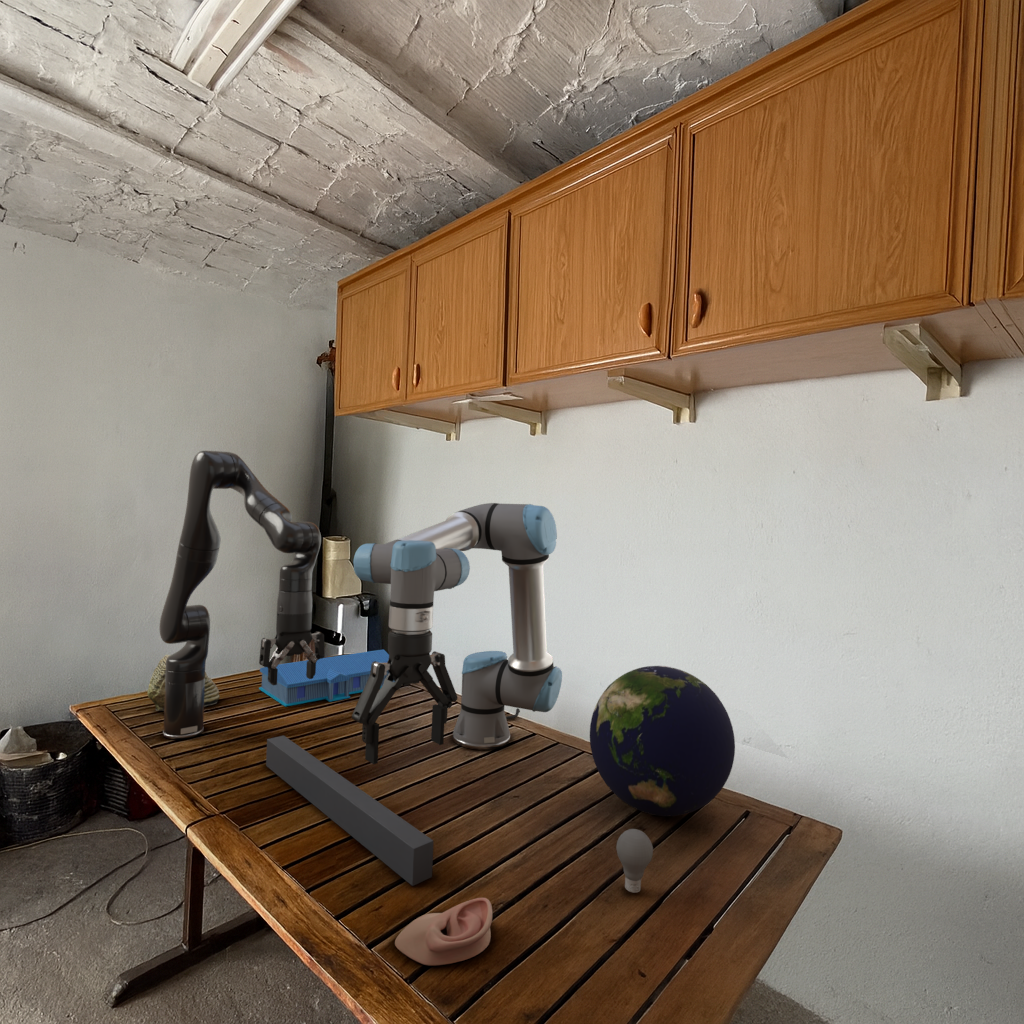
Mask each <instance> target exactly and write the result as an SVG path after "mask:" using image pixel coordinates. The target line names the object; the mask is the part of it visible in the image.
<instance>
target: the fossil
mask: <svg viewBox="0 0 1024 1024" xmlns="http://www.w3.org/2000/svg"><path fill="white" fill-rule="evenodd" d="M170 655H171V654H165V655H164V656H163V657H162V658H161V659H160V660H159V662H158V663H157V666H156V667H155V669H154V670H153V672H152V675H151V677H150V680H149V684H148V688H147V697H148V699H149V700H150V701H152V703H153V704H154V706H155V711H158V712H159V711H162V712H163V708H164V705H165V674H166V660H167V658H168V657H169V656H170ZM220 698H221V696H220V690H219V688H218V686H217V685H216V683H215V682H214V681H213V679H212V678H211V677H209V675H208V674H207V672H206V671H205V693H204V707H207V706H213V705H215V704H217V703H218V701H219V699H220Z"/></svg>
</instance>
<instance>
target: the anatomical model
mask: <svg viewBox="0 0 1024 1024" xmlns="http://www.w3.org/2000/svg"><path fill="white" fill-rule="evenodd" d="M492 922H493V907H492V903H491V900H489V898H486V897H477V898H473V899H470V900H466V901H464V902H461V903H459V904H457V905H454V906H452V907H450V908H449V909H447V910H444V911H443V912H433V913H432V912H431V913H426V914H423V915H421V916H418V917H416V919H414V920H412V921H411V922H410V923H409V924H407V925H406V926H405V927H404V928H403V929H402V930H401V932H400V933H399V934H398V935H397V936H396V938H395V940H394V946H395V947H396V948H397V950H399V952H401V953H402V954H403V955H405V957H408V958H409V959H411V960H413V961H414V962H416V963H419V964H421V965H424V966H431V967H432V966H443V965H450V964H454V963H459V962H462V961H465V960H468V959H471V958H473V957H476V956H477V955H479V954H481V953H482V952H484V951H485V950H486V949H487V947H488V946H489V945H490V943H491V937H492V936H491V935H492V934H491V926H492Z"/></svg>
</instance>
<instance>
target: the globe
mask: <svg viewBox="0 0 1024 1024" xmlns="http://www.w3.org/2000/svg"><path fill="white" fill-rule="evenodd" d="M735 739H736V738H735V732H734V728H733V724H732V721H731V718H730V716H729V713H728V711H727V709H726V707H725V705H724V703H722V701H721V699H720V698H719V696H718V695H717V694H716V692H715V691H713V689H712V688H711V687H709V685H707V684H706V683H705V682H704V681H702V680H701V679H700V678H698V677H696V676H695V675H693V674H691V673H689V672H687V671H685V670H682V669H680V668H675V667H672V666H667V665H648V666H643V667H637V668H635V669H632V670H629V671H627V672H626V673H624V674H622V675H620V676H618V677H617V678H616V679H615V680H614V681H612V682H611V683H610V684H609V685H608V686H607V687H606V688H605V689H604V691H603V692H602V694H601V695H600V697H599V699H597V701H596V704H595V706H594V709H593V711H592V715H591V720H590V725H589V745H590V751H591V755H592V759H593V763H594V765H595V767H596V769H597V772H598V774H599V775H600V777H601V779H602V780H603V781H604V784H605V785H606V786H607V787H608V788H609V790H610V791H611V792H612V793H613V794H614V795H616V797H617V798H619V800H621V801H622V802H623V803H625V804H627V805H628V806H630V807H632V808H633V809H636V810H637V811H640V812H643V813H646V814H649V815H653V816H660V817H678V816H683V815H686V814H690V813H693V812H695V811H697V810H699V809H701V808H703V807H705V806H707V804H709V803H710V802H711V801H713V800H714V799H715V798H716V797H717V796H718V794H719V793H721V791H722V789H723V788H724V786H725V784H726V783H727V781H728V780H729V777H730V775H731V773H732V769H733V766H734V762H735V756H736V755H735V754H736V740H735Z"/></svg>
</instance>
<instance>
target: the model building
mask: <svg viewBox="0 0 1024 1024" xmlns="http://www.w3.org/2000/svg"><path fill="white" fill-rule="evenodd" d="M388 659H389V652H388V651H386V650H385V649H376V650H368V651H363V652H356V653H349V654H342V655H341V654H340V655H335V656H329V657H328V656H327V657H324V658H323V659H319V660H317V662H316V674H315V676H313V679H309V678H307V676H306V671H307V661H308V659H307V660H300V661H293V662H287V663H279V664H278V666H277V667H276V668H277V669H278V672H277V685H272V684H270V682H268V667H264V666H262V667H260V668H259V672H260V673H261V686H260V687H258V690H260V691H261V692H262V693H264V694H265V695H267V696H268V697H270V698H271V699H273V700H274V701H276V702H277V703H279V704H280V705H282V706H283V707H290V706H297V705H302V704H307V703H312V702H317V701H323V700H325V701H327V702H329V703H330V702H335V701H341V700H346V699H347V700H348V699H350V698H351V695H353V694H359V693H362V692H363V689H364V687H365V685H366V683H367V680H368V678H369V676H370V671H371V664H372V662H374V661H376V662H379V663H387V661H388ZM388 674H389V672H388V671H387V674H386V675H384V679H383V682H382V684H381V686H380V689H381V687H382V686H383V684H384V680H385V678H386V677H387V675H388ZM392 682H395V681H394V680H393V681H392ZM380 689H379V690H380Z"/></svg>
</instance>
